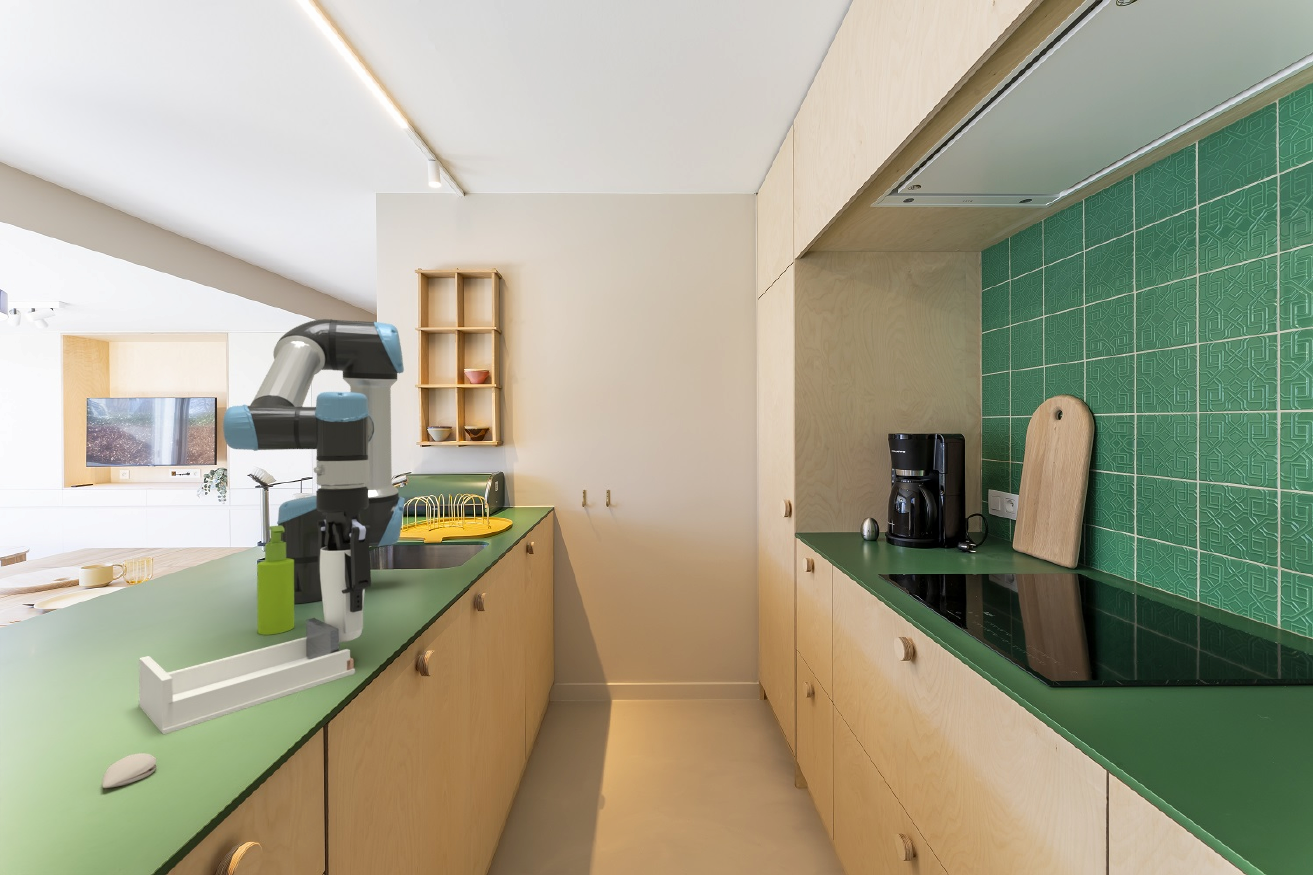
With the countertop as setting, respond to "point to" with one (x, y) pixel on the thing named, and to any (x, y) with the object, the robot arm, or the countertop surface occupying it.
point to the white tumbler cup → (334, 590)
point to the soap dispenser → (275, 587)
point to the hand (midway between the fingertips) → (343, 626)
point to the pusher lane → (233, 683)
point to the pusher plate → (320, 638)
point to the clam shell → (129, 770)
